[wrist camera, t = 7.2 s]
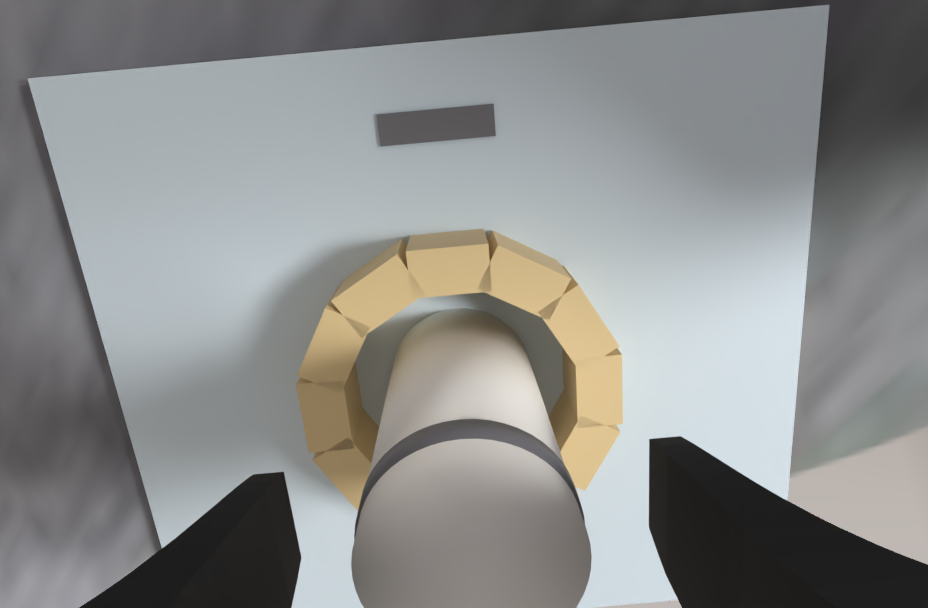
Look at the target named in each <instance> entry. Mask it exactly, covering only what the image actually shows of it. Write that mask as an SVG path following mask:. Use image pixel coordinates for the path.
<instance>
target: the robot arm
mask: <svg viewBox="0 0 928 608" xmlns="http://www.w3.org/2000/svg"><path fill="white" fill-rule="evenodd" d="M649 529H650V532H651V535H652V538H653V541H654V544H655V547H656V549H657V552H658V555H659V558H660V561H661V563H662V566H663V569H664V571H665V574H666V576H667V578H668V580H669V582H670V584H671V586H672V588H673V590H674V592H675V594H676V596H677V598H678V600H679V602H680V604H681V606H682V608H928V565H927V564H924V563H921V562H919V561H916V560H913V559H911V558H908V557H905V556H903V555H901V554H898V553H895V552H893V551H891V550H888V549H886V548H883V547H881V546H879V545H876V544H874V543H872V542H870V541H867V540H865V539H863V538H861V537H859V536H856V535H854V534H852V533H850V532H848V531H845V530H843V529H841V528H839V527H837V526H835V525H833V524H831V523H829V522H826V521H824V520H823V519H820V518H819V517H817V516H815V515H813V514H811V513H809V512H807V511H805V510H804V509H802V508H800V507H798V506H796V505H794V504H792V503H791V502H789V501H787V500H785V499H783V498H782V497H780V496H778V495H776V494H775V493H773V492H771V491H769V490H768V489H766V488H764V487H763V486H761V485H759V484H757V483H756V482H754V481H753V480H751V479H749V478H748V477H746V476H744V475H743V474H741V473H739V472H738V471H736V470H735V469H733V468H731V467H730V466H728V465H727V464H725V463H724V462H722V461H720V460H719V459H717V458H716V457H714V456H713V455H711V454H709V453H708V452H706V451H705V450H703V449H701V448H700V447H698V446H697V445H695V444H693V443H692V442H690V441H688V440H686V439H685V438H683V437H681V436H677V437H666V438H655V439H649ZM300 563H301V553H300V548H299V543H298V538H297V534H296V529H295V524H294V519H293V514H292V509H291V504H290V499H289V494H288V490H287V485H286V480H285V475H284V472H274V473H263V474H253V475H252V476H250V477H249V478H248V479H246V480H245V481H244V482H242V483H241V484H240V485H238V486H237V487H236V488H235V489H234V490H232V491H231V492H230V493H229V494H228V495H226V496H225V497H224V498H223V499H222V500H221V501H219V502H218V503H217V504H216V505H215V506H213V507H212V508H211V509H210V510H209V511H208V512H206V513H205V514H204V515H203V516H202V517H200V518H199V519H198V520H197V521H196V522H194V523H193V524H192V525H191V526H190V527H188V528H187V529H186V530H185V531H184V532H182V533H181V534H180V535H179V536H177V537H176V538H175V539H174V540H172V541H171V542H170V543H169V544H167V545H166V546H165V547H163V548H162V549H161V550H159V551H158V552H157V553H156V554H154V555H153V556H152V557H150V558H149V559H148V560H146V561H145V562H144V563H143V564H141V565H140V566H139V567H137V568H136V569H135V570H134V571H132V572H131V573H130V574H128V575H127V576H125V577H124V578H123V579H121V580H120V581H118V582H117V583H116V584H114V585H113V586H111V587H110V588H108V589H107V590H105V591H104V592H102V593H101V594H99V595H98V596H96V597H95V598H93V599H92V600H90V601H89V602H87V603H86V604H84V605H83V606H81V607H80V608H291V607H292V602H293V598H294V593H295V589H296V584H297V579H298V573H299V568H300Z"/></svg>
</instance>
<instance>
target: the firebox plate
mask: <svg viewBox="0 0 928 608" xmlns="http://www.w3.org/2000/svg"><path fill="white" fill-rule="evenodd" d="M828 17H829V5H820V6H809V7H798V8H787V9H777V10H766V11H755V12H744V13H733V14H722V15H711V16H701V17H690V18H679V19H668V20H657V21H646V22H635V23H625V24H614V25H603V26H592V27H581V28H570V29H559V30H549V31H538V32H527V33H516V34H505V35H494V36H483V37H473V38H462V39H451V40H440V41H429V42H418V43H407V44H396V45H386V46H375V47H364V48H353V49H342V50H331V51H320V52H310V53H299V54H288V55H277V56H266V57H255V58H244V59H234V60H223V61H212V62H201V63H190V64H179V65H168V66H158V67H147V68H136V69H125V70H114V71H103V72H92V73H82V74H71V75H60V76H49V77H38V78H28V82H29V85H30V89H31V92H32V96H33V99H34V103H35V106H36V110H37V113H38V117H39V120H40V124H41V127H42V131H43V134H44V138H45V141H46V145H47V148H48V152H49V155H50V159H51V162H52V166H53V169H54V173H55V176H56V180H57V183H58V187H59V190H60V194H61V197H62V201H63V204H64V208H65V211H66V215H67V218H68V222H69V225H70V229H71V232H72V236H73V239H74V243H75V246H76V250H77V253H78V257H79V260H80V264H81V267H82V271H83V274H84V278H85V281H86V285H87V288H88V292H89V295H90V299H91V302H92V306H93V309H94V313H95V316H96V320H97V323H98V327H99V330H100V334H101V337H102V341H103V344H104V348H105V351H106V355H107V358H108V362H109V365H110V369H111V372H112V376H113V379H114V383H115V386H116V390H117V393H118V397H119V400H120V404H121V407H122V411H123V414H124V418H125V421H126V425H127V428H128V432H129V435H130V439H131V442H132V446H133V449H134V453H135V456H136V460H137V463H138V467H139V470H140V474H141V477H142V481H143V484H144V488H145V491H146V495H147V498H148V502H149V505H150V509H151V512H152V516H153V519H154V523H155V526H156V530H157V533H158V537H159V540H160V544H161V547H162V548H163V547H165V546H166V545H167V544H169V543H170V542H171V541H172V540H174V539H175V538H176V537H177V536H179V535H180V534H181V533H182V532H184V531H185V530H186V529H187V528H188V527H190V526H191V525H192V524H193V523H194V522H196V521H197V520H198V519H199V518H200V517H202V516H203V515H204V514H205V513H206V512H208V511H209V510H210V509H211V508H212V507H213V506H215V505H216V504H217V503H218V502H219V501H221V500H222V499H223V498H224V497H225V496H226V495H228V494H229V493H230V492H231V491H232V490H234V489H235V488H236V487H237V486H238V485H240V484H241V483H242V482H244V481H245V480H246V479H248V478H249V477H250V476H252V475H253V474H263V473H274V472H284V475H285V480H286V485H287V490H288V494H289V499H290V504H291V509H292V514H293V519H294V524H295V529H296V534H297V538H298V543H299V548H300V553H301V563H300V568H299V573H298V579H297V584H296V589H295V593H294V598H293V602H292V607H291V608H364V607H363V605H362V604H361V602H360V600H359V597H358V595H357V593H356V590H355V586H354V582H353V578H352V569H351V559H352V549H353V545H354V540H355V539H354V534H355V522H356V518H357V513H358V509H359V505H360V500H361V496H362V491H363V489H364V486H365V483H366V481H367V478H368V476H369V472H370V467H371V463H372V458H373V454H374V449H375V444H376V440H377V435H378V431H379V426H380V422H381V417H382V412H383V408H384V403H385V399H386V394H387V390H388V385H389V380H390V376H391V371H392V367H393V362H394V358H395V354H396V351H397V349H398V346H399V344H400V343H401V341H402V339H403V338H404V336H405V335H406V334H407V332H408V331H409V330H410V329H411V328H412V327H413V326H414V325H416V324H417V323H418V322H419V321H421V320H422V319H424V318H426V317H428V316H429V315H432V314H434V313H436V312H440V311H443V310H447V309H454V308H469V309H476V310H480V311H484V312H487V313H489V314H492V315H494V316H496V317H498V318H499V319H501V320H502V321H504V322H505V323H506V324H507V325H509V326H510V327H511V328H512V329H513V330H514V331H515V333H516V334H517V335H518V336H519V338H520V340H521V341H522V343H523V345H524V347H525V350H526V352H527V355H528V358H529V361H530V364H531V367H532V370H533V373H534V376H535V379H536V382H537V385H538V388H539V391H540V394H541V397H542V400H543V402H544V405H545V408H546V411H547V414H548V417H549V420H550V423H551V426H552V429H553V432H554V435H555V438H556V441H557V444H558V447H559V450H560V453H561V456H562V459H563V461H564V464H565V467H566V468H567V470H568V472H569V474H570V476H571V478H572V480H573V483H574V485H575V488H576V491H577V494H578V497H579V500H580V503H581V506H582V510H583V514H584V519H585V526H586V529H587V533H588V536H589V540H590V545H591V554H592V560H591V572H590V577H589V581H588V584H587V587H586V590H585V592H584V595H583V597H582V598H581V600H580V602H579V604H578V606H577V607H576V608H595V607H606V606H617V605H627V604H638V603H649V602H660V601H671V600H678V598H677V596H676V594H675V592H674V590H673V588H672V586H671V584H670V582H669V580H668V578H667V576H666V574H665V571H664V569H663V566H662V563H661V561H660V558H659V555H658V552H657V549H656V547H655V544H654V541H653V538H652V535H651V532H650V529H649V439H655V438H666V437H677V436H681V437H683V438H685V439H686V440H688V441H690V442H692V443H693V444H695V445H697V446H698V447H700V448H701V449H703V450H705V451H706V452H708V453H709V454H711V455H713V456H714V457H716V458H717V459H719V460H720V461H722V462H724V463H725V464H727V465H728V466H730V467H731V468H733V469H735V470H736V471H738V472H739V473H741V474H743V475H744V476H746V477H748V478H749V479H751V480H753V481H754V482H756V483H757V484H759V485H761V486H763V487H764V488H766V489H768V490H769V491H771V492H773V493H775V494H776V495H778V496H780V497H782V498H783V499H785V500H787V498H788V487H789V475H790V463H791V451H792V440H793V428H794V416H795V405H796V393H797V381H798V369H799V358H800V346H801V334H802V322H803V311H804V299H805V287H806V275H807V264H808V252H809V240H810V228H811V217H812V205H813V193H814V181H815V170H816V158H817V146H818V135H819V123H820V111H821V99H822V88H823V76H824V64H825V52H826V41H827V29H828Z"/></svg>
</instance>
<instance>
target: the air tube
mask: <svg viewBox="0 0 928 608" xmlns="http://www.w3.org/2000/svg"><path fill="white" fill-rule="evenodd" d="M354 539H355V540H354V545H353V549H352V559H351V569H352V578H353V582H354V586H355V590H356V593H357V595H358V597H359V600H360V602H361V604H362V605H363V607H364V608H576V607H577V606H578V604H579V602H580V600H581V598H582V597H583V595H584V592H585V590H586V587H587V584H588V581H589V577H590V572H591V560H592V554H591V545H590V540H589V536H588V533H587V529H586V526H585V519H584V514H583V510H582V506H581V503H580V500H579V497H578V494H577V491H576V488H575V485H574V483H573V480H572V478H571V476H570V474H569V472H568V470H567V468H566V467H565V464H564V461H563V459H562V456H561V453H560V450H559V447H558V444H557V441H556V438H555V435H554V432H553V429H552V426H551V423H550V420H549V417H548V414H547V411H546V408H545V405H544V402H543V400H542V397H541V394H540V391H539V388H538V385H537V382H536V379H535V376H534V373H533V370H532V367H531V364H530V361H529V358H528V355H527V352H526V350H525V347H524V345H523V343H522V341H521V340H520V338H519V336H518V335H517V334H516V333H515V331H514V330H513V329H512V328H511V327H510V326H509V325H507V324H506V323H505V322H504V321H502V320H501V319H499V318H498V317H496V316H494V315H492V314H489V313H487V312H484V311H480V310H476V309H469V308H454V309H447V310H443V311H440V312H436V313H434V314H432V315H429V316H428V317H426V318H424V319H422V320H421V321H419V322H418V323H417V324H416V325H414V326H413V327H412V328H411V329H410V330H409V331H408V332H407V334H406V335H405V336H404V338H403V339H402V341H401V343H400V344H399V346H398V349H397V351H396V354H395V358H394V362H393V367H392V371H391V376H390V380H389V385H388V390H387V394H386V399H385V403H384V408H383V412H382V417H381V422H380V426H379V431H378V435H377V440H376V444H375V449H374V454H373V458H372V463H371V467H370V472H369V476H368V478H367V481H366V483H365V486H364V489H363V491H362V496H361V500H360V505H359V509H358V513H357V518H356V522H355V534H354Z"/></svg>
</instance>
